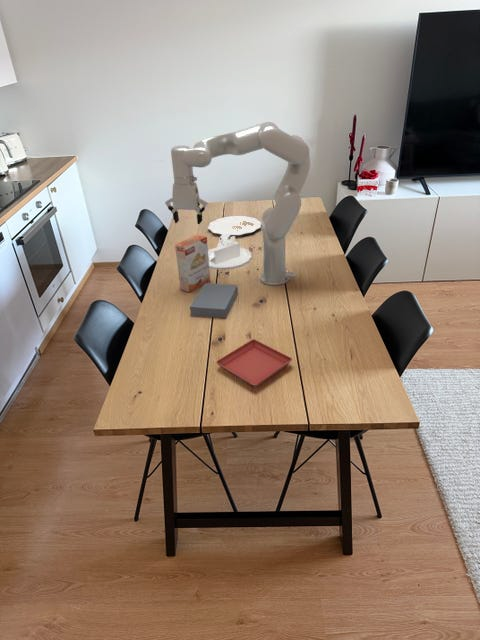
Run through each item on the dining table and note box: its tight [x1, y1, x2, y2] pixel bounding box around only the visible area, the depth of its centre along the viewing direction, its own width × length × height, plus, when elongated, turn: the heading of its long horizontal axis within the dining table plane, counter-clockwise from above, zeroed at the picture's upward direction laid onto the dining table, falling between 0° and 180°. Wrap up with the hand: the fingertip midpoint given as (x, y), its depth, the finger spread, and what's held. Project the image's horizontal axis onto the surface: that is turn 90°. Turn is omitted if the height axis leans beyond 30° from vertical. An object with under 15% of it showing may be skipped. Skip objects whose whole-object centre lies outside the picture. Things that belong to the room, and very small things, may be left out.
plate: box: [207, 215, 262, 238], centre depth 261 cm, size 29×29×2 cm
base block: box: [189, 282, 239, 319], centre depth 189 cm, size 14×20×4 cm
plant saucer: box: [215, 338, 293, 388], centre depth 153 cm, size 18×18×3 cm
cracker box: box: [174, 234, 211, 294], centre depth 200 cm, size 14×6×21 cm, turn 143°
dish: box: [208, 234, 252, 270], centre depth 225 cm, size 25×25×11 cm
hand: (188, 222), depth 191 cm, fingers open, 9 cm apart
